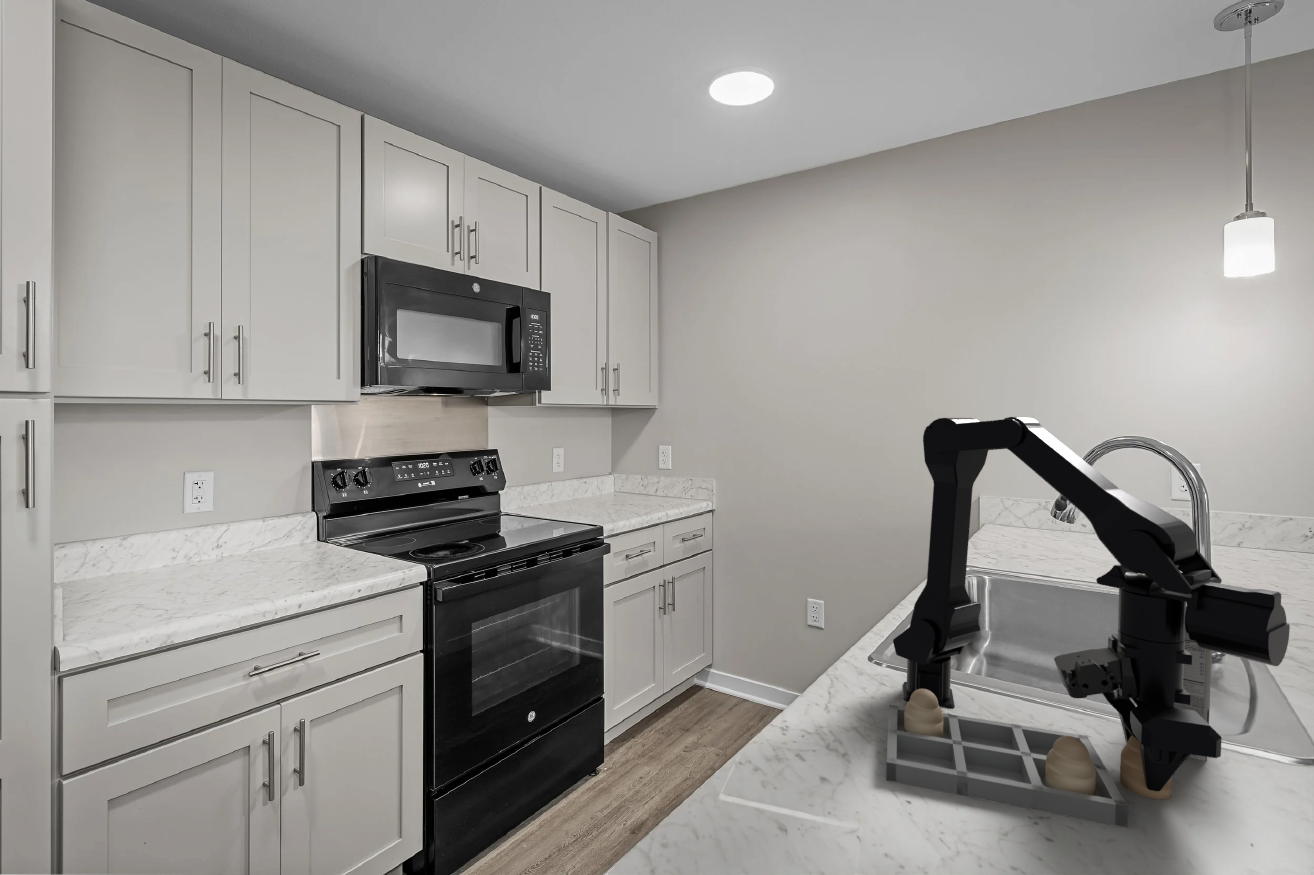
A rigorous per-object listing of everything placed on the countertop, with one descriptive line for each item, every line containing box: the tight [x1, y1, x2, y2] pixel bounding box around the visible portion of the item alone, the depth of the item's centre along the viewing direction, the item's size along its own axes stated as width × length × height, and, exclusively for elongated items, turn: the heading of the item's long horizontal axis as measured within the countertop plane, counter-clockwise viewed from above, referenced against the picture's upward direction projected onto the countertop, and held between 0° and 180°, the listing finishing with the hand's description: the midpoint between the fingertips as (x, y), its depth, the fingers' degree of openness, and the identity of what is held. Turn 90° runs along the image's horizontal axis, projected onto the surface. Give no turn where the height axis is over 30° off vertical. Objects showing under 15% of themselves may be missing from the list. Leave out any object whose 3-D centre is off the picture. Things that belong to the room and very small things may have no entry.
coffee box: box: [1173, 629, 1213, 762], centre depth 80 cm, size 9×6×16 cm
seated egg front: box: [1045, 736, 1096, 796], centre depth 68 cm, size 4×4×6 cm
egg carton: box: [885, 704, 1129, 829], centre depth 74 cm, size 15×22×2 cm
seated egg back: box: [904, 689, 944, 738], centre depth 79 cm, size 4×4×6 cm
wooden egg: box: [1119, 736, 1173, 800], centre depth 70 cm, size 4×4×6 cm
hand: (1145, 777), depth 70 cm, fingers closed on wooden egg, 4 cm apart
